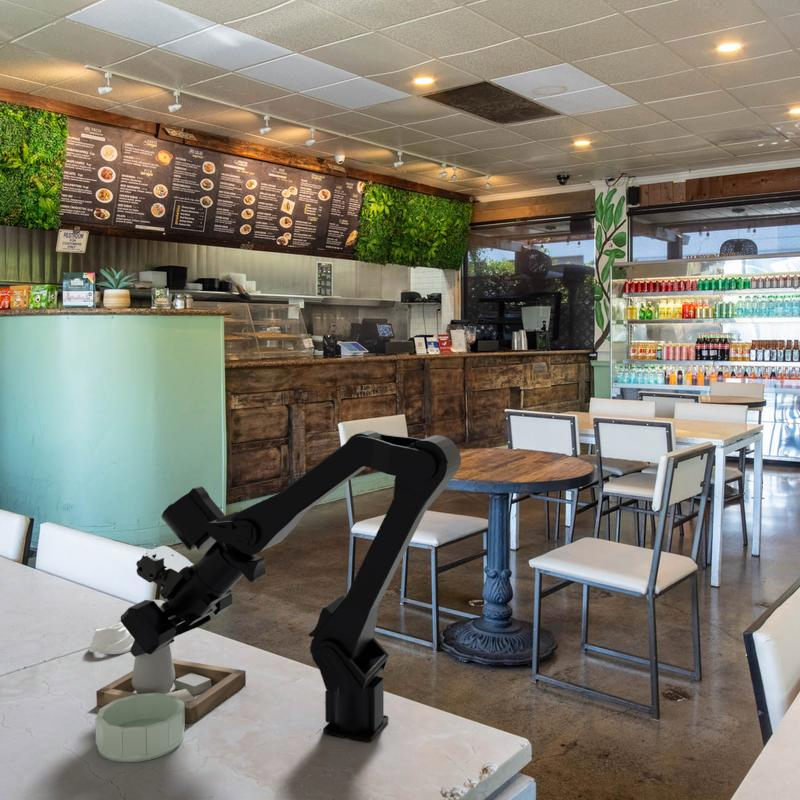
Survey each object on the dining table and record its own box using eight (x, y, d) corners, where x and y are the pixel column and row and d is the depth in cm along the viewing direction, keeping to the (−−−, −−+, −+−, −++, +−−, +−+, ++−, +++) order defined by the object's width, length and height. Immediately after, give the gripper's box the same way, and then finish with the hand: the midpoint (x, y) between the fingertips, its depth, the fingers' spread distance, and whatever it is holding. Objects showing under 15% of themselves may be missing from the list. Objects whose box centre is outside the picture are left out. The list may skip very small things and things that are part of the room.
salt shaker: (162, 705, 107) (160, 610, 106) (123, 702, 108) (121, 607, 108) (182, 688, 113) (181, 597, 112) (145, 684, 114) (143, 594, 113)
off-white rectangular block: (211, 690, 113) (211, 679, 113) (194, 697, 111) (194, 686, 111) (191, 683, 115) (191, 672, 115) (175, 690, 113) (175, 679, 113)
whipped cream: (104, 667, 123) (103, 637, 122) (76, 655, 126) (75, 626, 126) (146, 647, 130) (145, 619, 129) (118, 636, 133) (117, 608, 132)
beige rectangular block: (196, 711, 107) (195, 699, 106) (173, 717, 105) (173, 705, 105) (185, 700, 110) (185, 688, 110) (164, 705, 108) (163, 694, 108)
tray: (245, 684, 114) (245, 670, 114) (191, 724, 102) (191, 708, 102) (158, 669, 119) (157, 656, 119) (96, 705, 107) (96, 691, 107)
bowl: (200, 730, 100) (199, 700, 100) (148, 768, 91) (148, 736, 91) (134, 717, 104) (134, 688, 104) (78, 753, 95) (78, 722, 94)
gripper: (213, 516, 117) (150, 584, 121) (131, 545, 99) (61, 623, 103) (262, 574, 115) (196, 641, 119) (187, 614, 97) (113, 691, 101)
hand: (144, 646), depth 111 cm, fingers open, 5 cm apart
